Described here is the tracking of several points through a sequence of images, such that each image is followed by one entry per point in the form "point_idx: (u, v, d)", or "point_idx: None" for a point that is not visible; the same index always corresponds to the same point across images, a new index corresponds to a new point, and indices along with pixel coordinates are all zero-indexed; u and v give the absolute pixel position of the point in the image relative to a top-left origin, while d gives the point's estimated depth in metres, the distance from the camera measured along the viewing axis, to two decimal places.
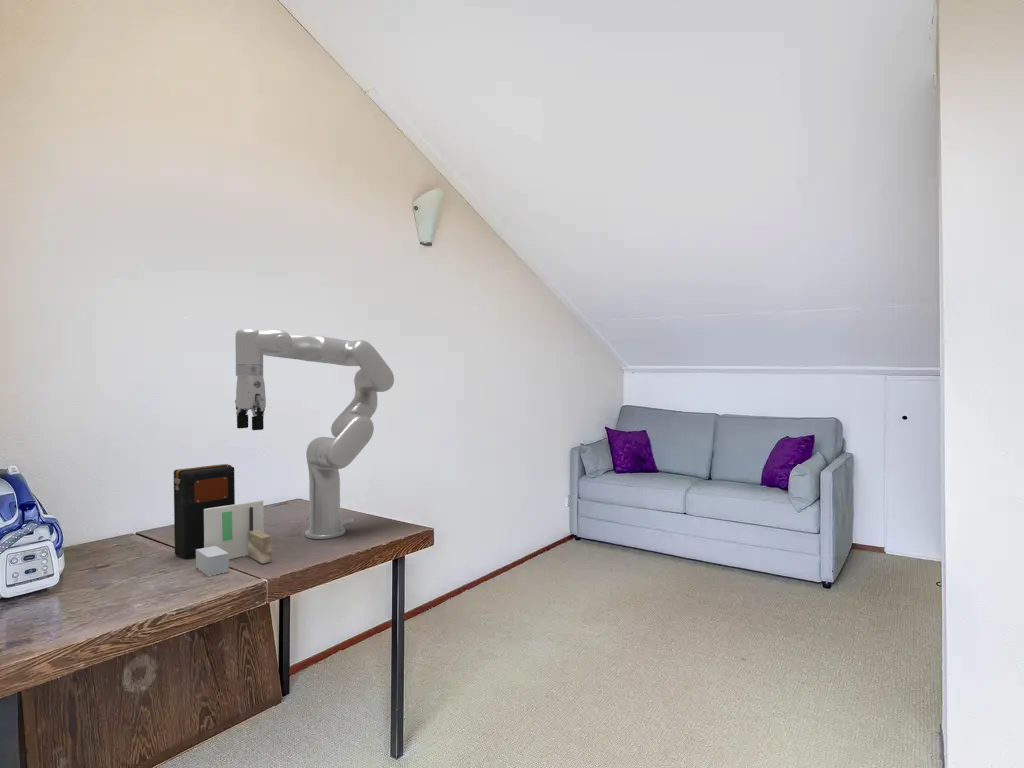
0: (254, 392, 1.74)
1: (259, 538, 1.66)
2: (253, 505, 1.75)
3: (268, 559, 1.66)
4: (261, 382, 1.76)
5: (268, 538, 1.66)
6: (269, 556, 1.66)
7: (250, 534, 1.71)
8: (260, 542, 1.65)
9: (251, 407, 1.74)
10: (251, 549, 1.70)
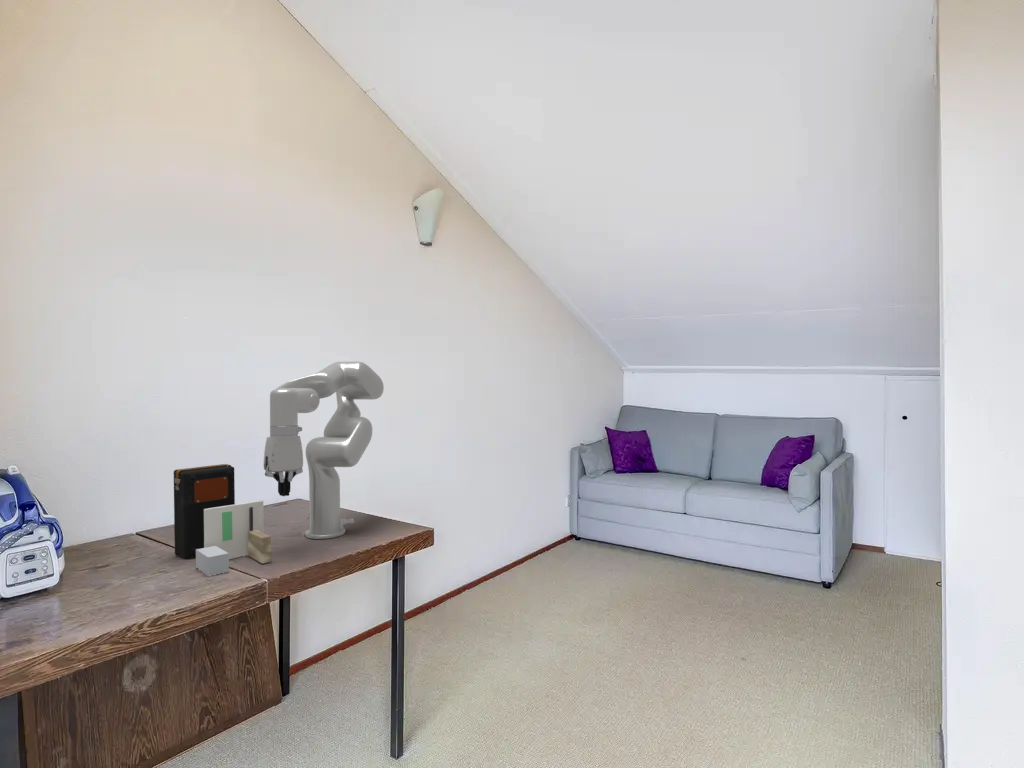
0: None
1: (259, 538, 1.66)
2: (253, 505, 1.75)
3: (268, 559, 1.66)
4: None
5: (268, 538, 1.66)
6: (269, 556, 1.66)
7: (250, 534, 1.71)
8: (260, 542, 1.65)
9: (301, 467, 1.76)
10: (251, 549, 1.70)
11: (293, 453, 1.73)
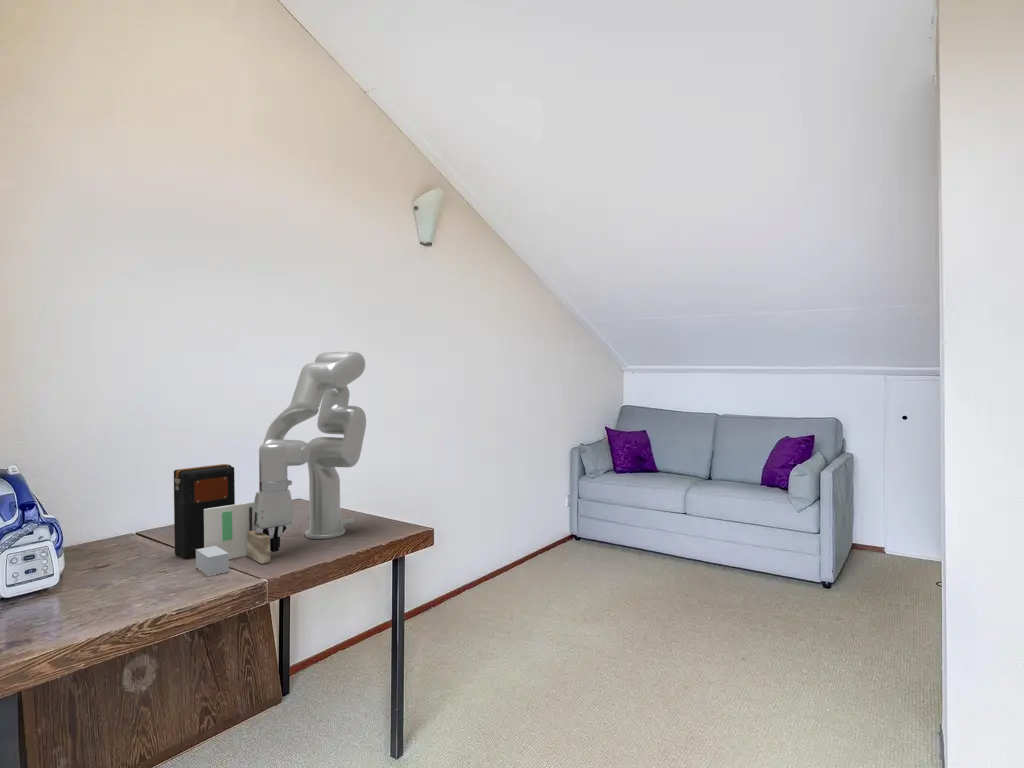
0: None
1: (258, 538, 1.66)
2: (253, 505, 1.75)
3: (267, 559, 1.66)
4: None
5: (267, 538, 1.66)
6: (268, 556, 1.66)
7: (249, 534, 1.70)
8: (259, 542, 1.65)
9: (291, 521, 1.74)
10: (251, 549, 1.70)
11: (283, 508, 1.71)
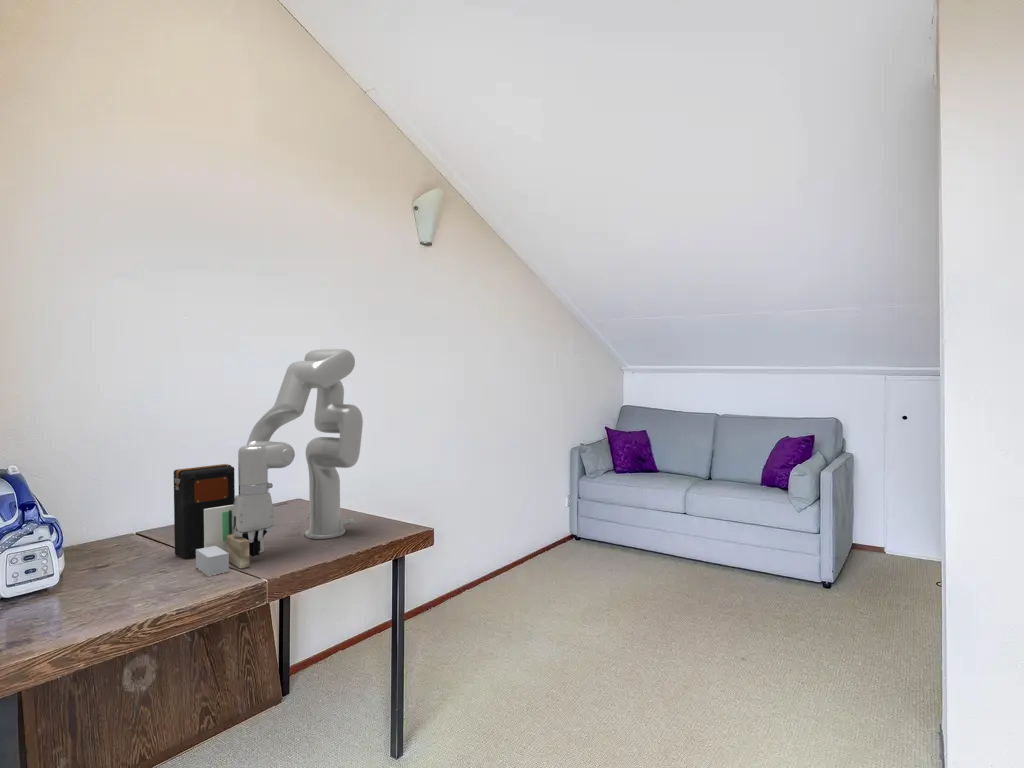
0: None
1: (237, 542, 1.62)
2: None
3: (246, 564, 1.62)
4: None
5: (246, 542, 1.62)
6: (247, 561, 1.62)
7: (228, 538, 1.66)
8: (238, 546, 1.61)
9: (272, 525, 1.70)
10: (230, 553, 1.66)
11: (263, 512, 1.67)
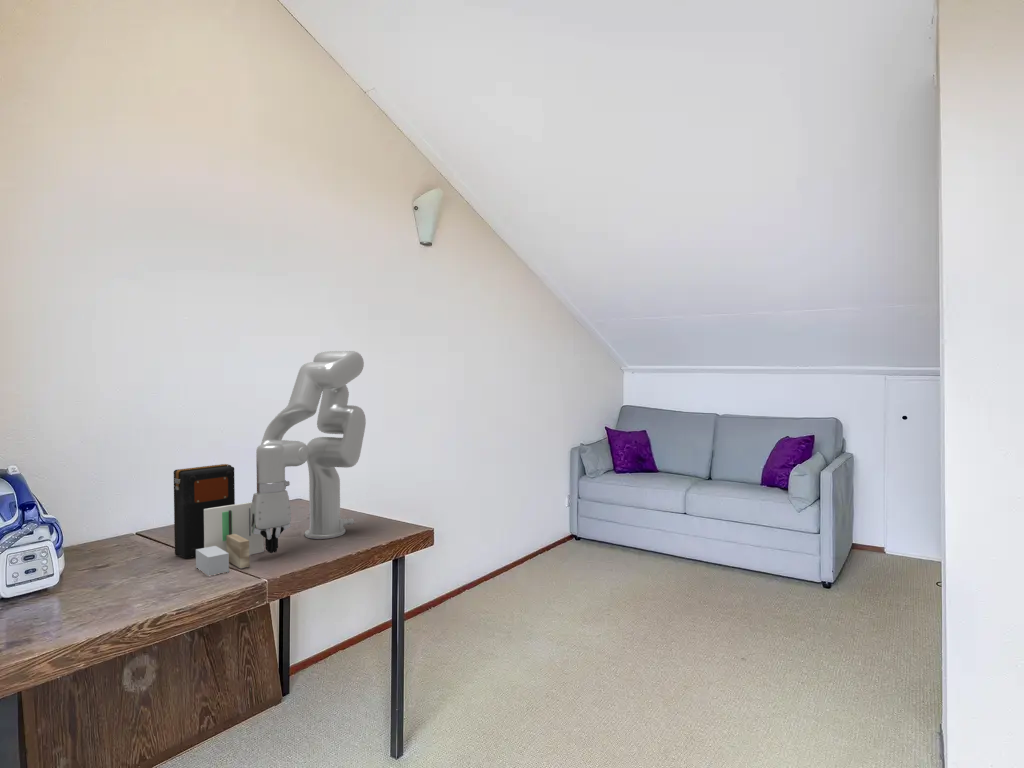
0: None
1: (237, 542, 1.62)
2: None
3: (246, 564, 1.62)
4: None
5: (246, 542, 1.62)
6: (247, 561, 1.62)
7: (228, 538, 1.66)
8: (238, 546, 1.61)
9: (289, 522, 1.74)
10: (230, 553, 1.66)
11: (280, 509, 1.71)
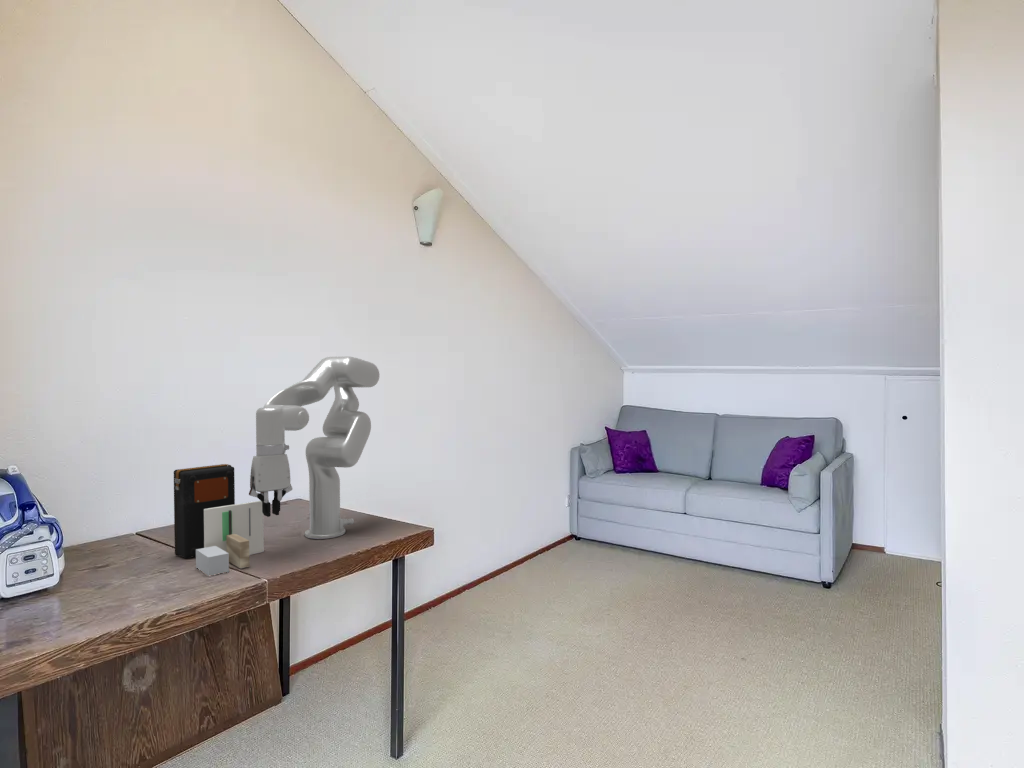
0: None
1: (237, 542, 1.62)
2: (253, 505, 1.75)
3: (246, 564, 1.62)
4: None
5: (246, 542, 1.62)
6: (247, 561, 1.62)
7: (228, 538, 1.66)
8: (238, 546, 1.61)
9: (289, 486, 1.73)
10: (230, 553, 1.66)
11: (280, 472, 1.71)
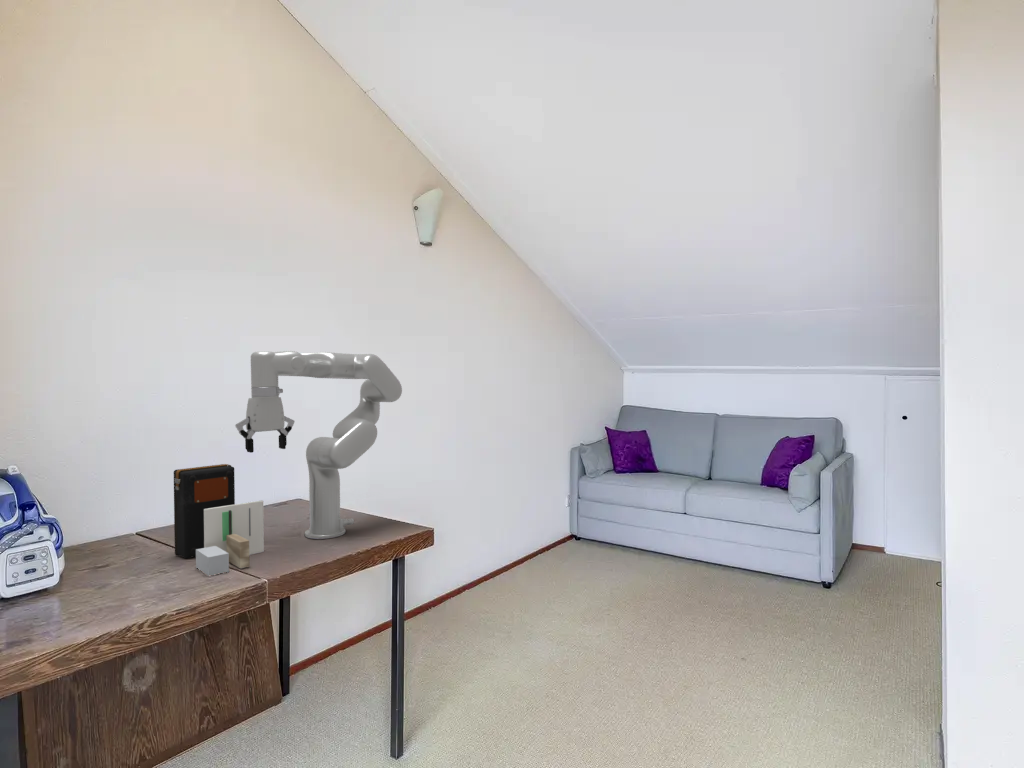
0: None
1: (237, 542, 1.62)
2: (253, 505, 1.75)
3: (246, 564, 1.62)
4: None
5: (246, 542, 1.62)
6: (247, 561, 1.62)
7: (228, 538, 1.66)
8: (238, 546, 1.61)
9: (283, 427, 1.82)
10: (230, 553, 1.66)
11: (274, 413, 1.79)
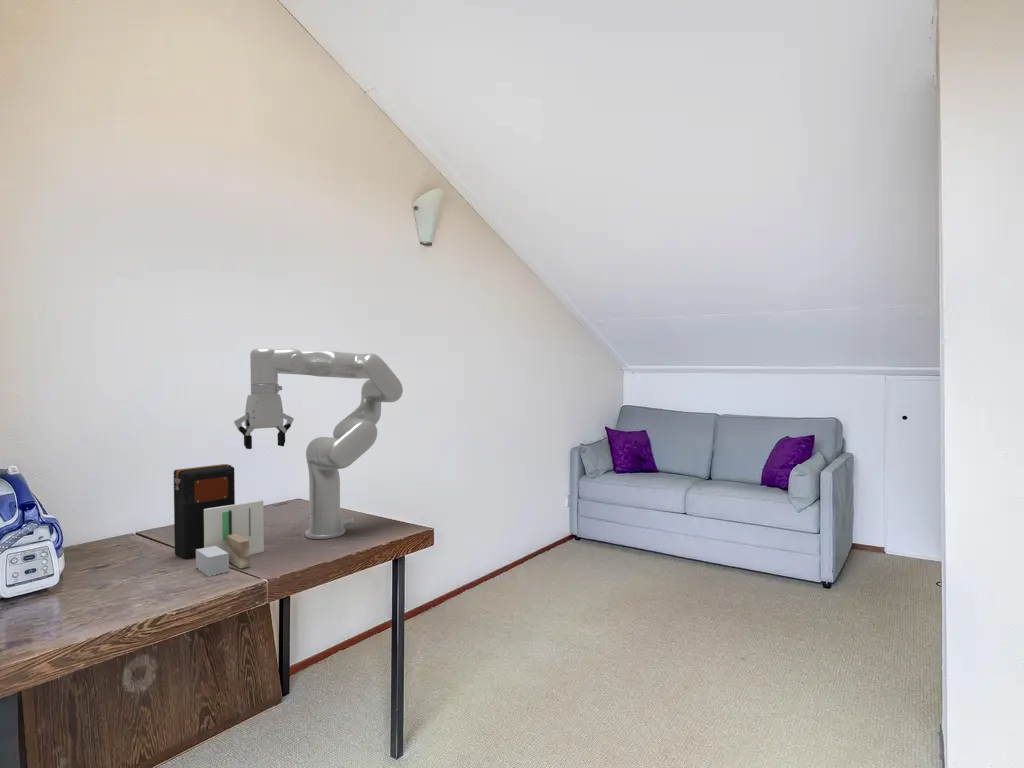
0: None
1: (237, 542, 1.62)
2: (253, 505, 1.75)
3: (246, 564, 1.62)
4: None
5: (246, 542, 1.62)
6: (247, 561, 1.62)
7: (228, 538, 1.66)
8: (238, 546, 1.61)
9: (282, 424, 1.82)
10: (230, 553, 1.66)
11: (273, 410, 1.79)
